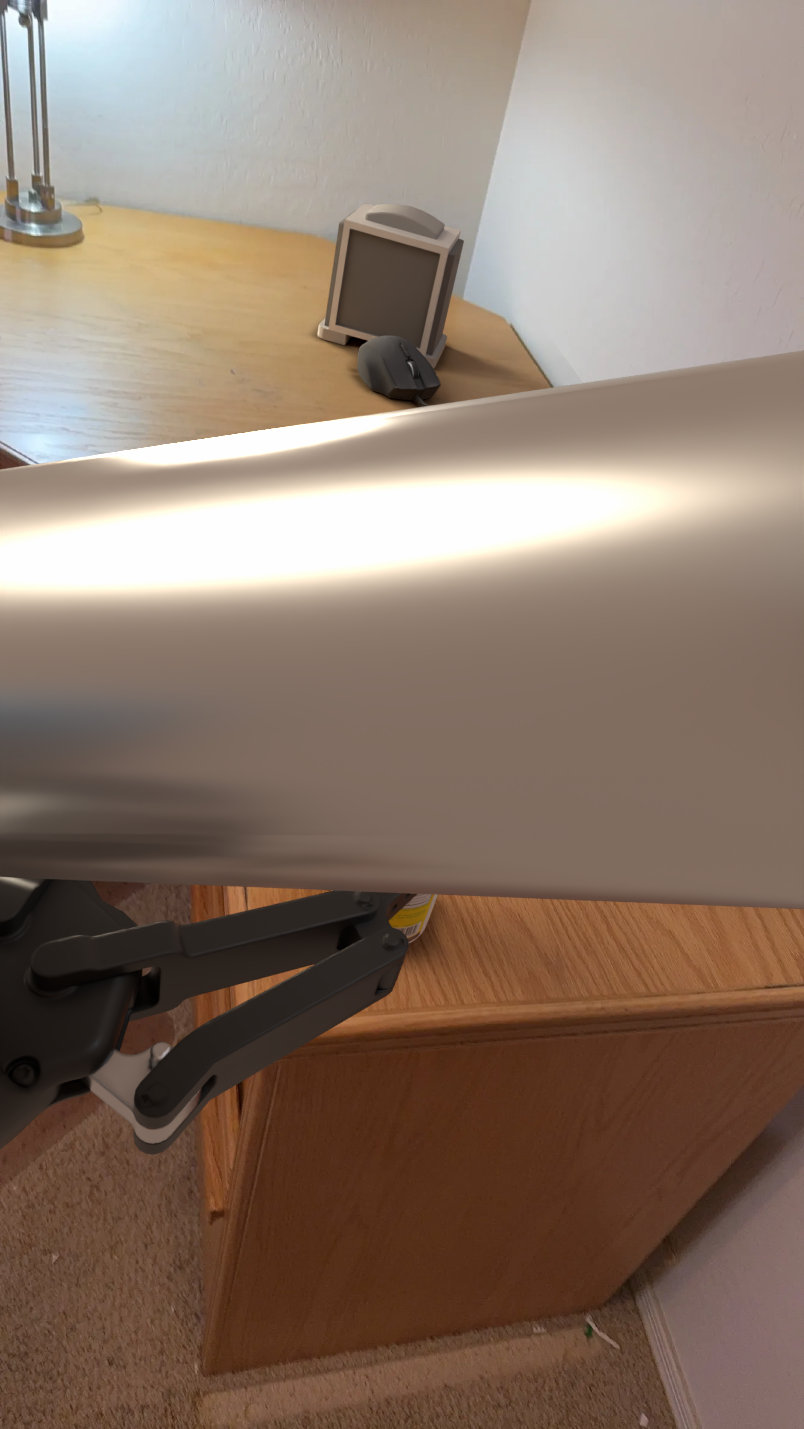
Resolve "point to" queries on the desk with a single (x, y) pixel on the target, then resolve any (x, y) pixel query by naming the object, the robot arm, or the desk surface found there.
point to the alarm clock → (392, 277)
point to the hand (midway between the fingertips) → (363, 740)
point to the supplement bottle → (414, 916)
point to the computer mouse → (397, 369)
